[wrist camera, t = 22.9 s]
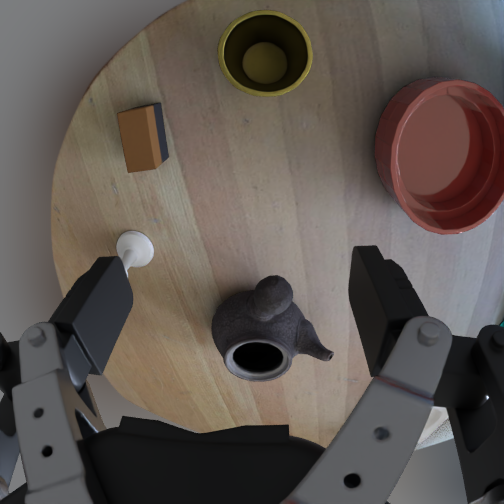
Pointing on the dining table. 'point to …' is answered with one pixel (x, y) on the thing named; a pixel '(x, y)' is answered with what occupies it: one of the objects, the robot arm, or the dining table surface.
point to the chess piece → (134, 249)
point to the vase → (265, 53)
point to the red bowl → (443, 153)
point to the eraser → (143, 137)
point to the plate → (433, 422)
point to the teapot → (264, 332)
